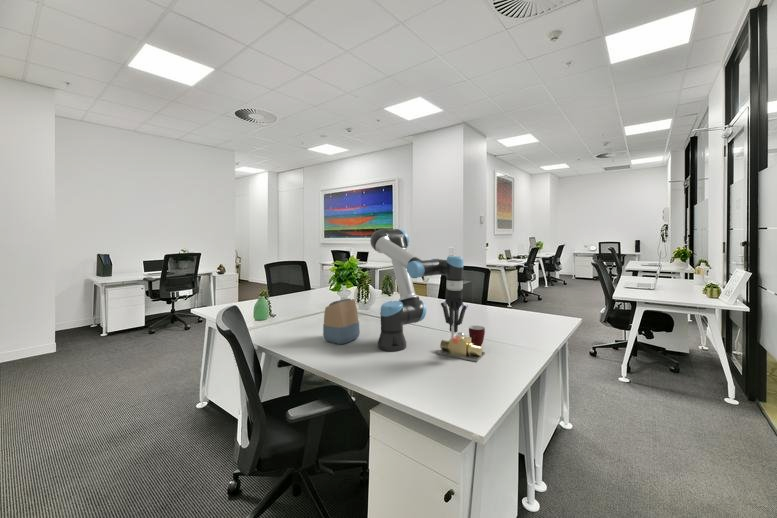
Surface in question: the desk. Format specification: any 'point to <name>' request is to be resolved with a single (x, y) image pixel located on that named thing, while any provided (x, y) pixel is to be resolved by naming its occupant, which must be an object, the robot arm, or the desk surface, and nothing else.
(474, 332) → the mug
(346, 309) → the two-tone tapered canister
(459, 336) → the lever
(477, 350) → the valve block
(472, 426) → the desk surface
